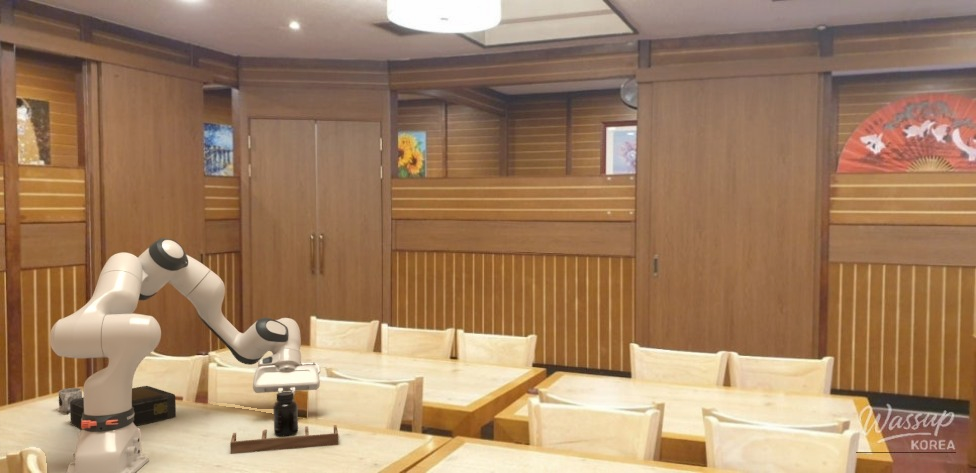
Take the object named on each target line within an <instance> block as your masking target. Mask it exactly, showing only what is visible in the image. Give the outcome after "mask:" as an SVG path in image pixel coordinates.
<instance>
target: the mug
mask: <svg viewBox="0 0 976 473" xmlns="http://www.w3.org/2000/svg"><path fill="white" fill-rule="evenodd" d="M82 389H83V388H81V387H69V388H63V389H60V390H58V412H59V413H60V414H61V413H62V414H69V413H70V402H71V400H73V399H78V398H83V390H82Z"/></svg>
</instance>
